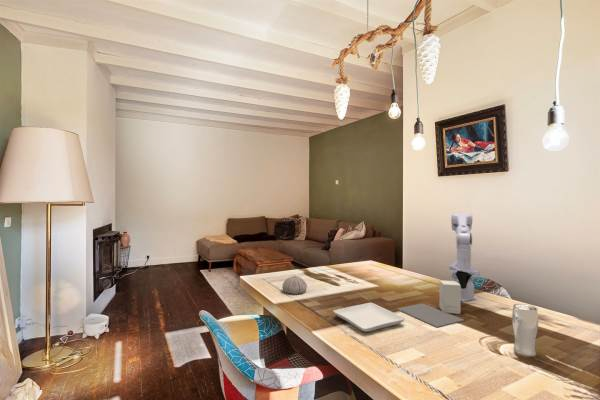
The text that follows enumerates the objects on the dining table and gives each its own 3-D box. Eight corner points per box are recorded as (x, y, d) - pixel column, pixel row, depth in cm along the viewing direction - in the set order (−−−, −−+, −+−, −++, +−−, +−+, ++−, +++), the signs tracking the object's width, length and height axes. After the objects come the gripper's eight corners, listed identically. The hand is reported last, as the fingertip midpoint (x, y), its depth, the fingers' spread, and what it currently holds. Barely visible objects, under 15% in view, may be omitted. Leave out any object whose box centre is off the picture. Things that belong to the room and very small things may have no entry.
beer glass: (506, 347, 108) (507, 303, 108) (526, 347, 109) (526, 303, 108) (522, 358, 101) (523, 311, 101) (543, 357, 102) (544, 310, 101)
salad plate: (364, 337, 116) (364, 328, 116) (331, 317, 135) (331, 309, 135) (406, 326, 126) (406, 318, 126) (371, 309, 144) (371, 302, 144)
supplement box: (460, 314, 139) (461, 285, 138) (442, 312, 140) (443, 284, 140) (456, 308, 146) (456, 280, 146) (438, 307, 147) (439, 279, 147)
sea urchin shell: (298, 286, 179) (298, 272, 179) (312, 293, 168) (312, 277, 167) (277, 290, 172) (277, 275, 172) (290, 297, 160) (290, 281, 160)
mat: (422, 304, 151) (422, 303, 151) (464, 320, 131) (464, 319, 131) (396, 309, 144) (396, 308, 143) (436, 327, 124) (436, 326, 124)
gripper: (444, 256, 151) (443, 285, 152) (472, 262, 138) (472, 293, 139) (454, 255, 154) (453, 283, 155) (483, 261, 141) (482, 291, 142)
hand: (463, 288), depth 147 cm, fingers closed
